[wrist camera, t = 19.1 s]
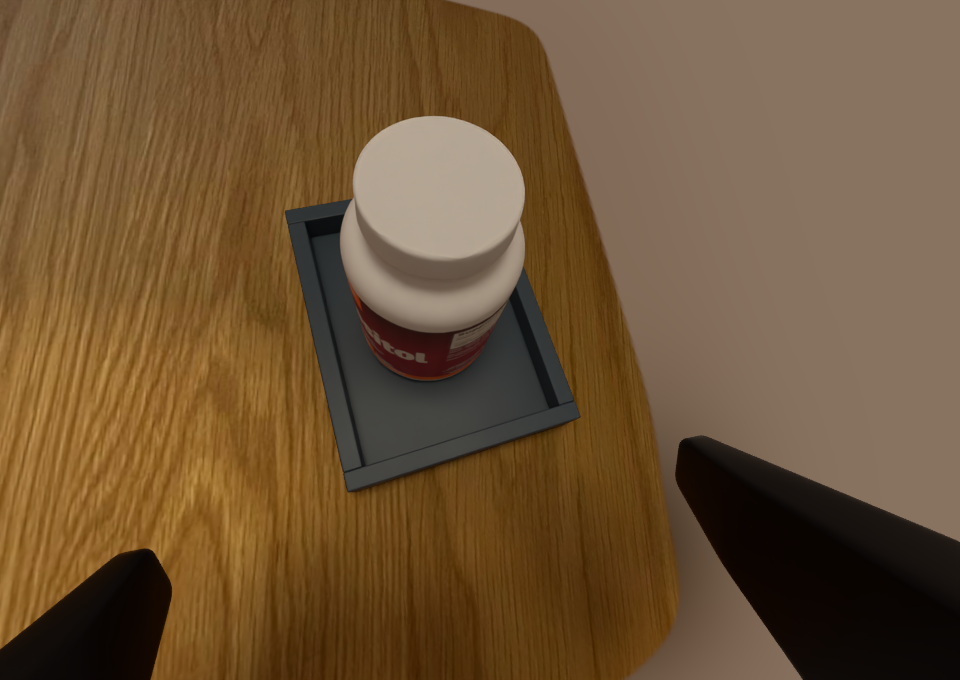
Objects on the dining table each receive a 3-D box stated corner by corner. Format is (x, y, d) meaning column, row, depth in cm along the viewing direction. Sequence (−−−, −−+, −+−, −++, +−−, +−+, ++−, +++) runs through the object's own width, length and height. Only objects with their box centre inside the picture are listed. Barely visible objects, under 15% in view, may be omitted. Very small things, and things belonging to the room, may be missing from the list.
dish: (565, 424, 22) (581, 416, 20) (354, 492, 20) (347, 492, 18) (482, 201, 26) (489, 174, 24) (296, 235, 24) (284, 210, 21)
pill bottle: (337, 314, 22) (269, 154, 11) (434, 248, 24) (452, 60, 13) (417, 411, 21) (423, 332, 10) (512, 334, 23) (596, 203, 12)
